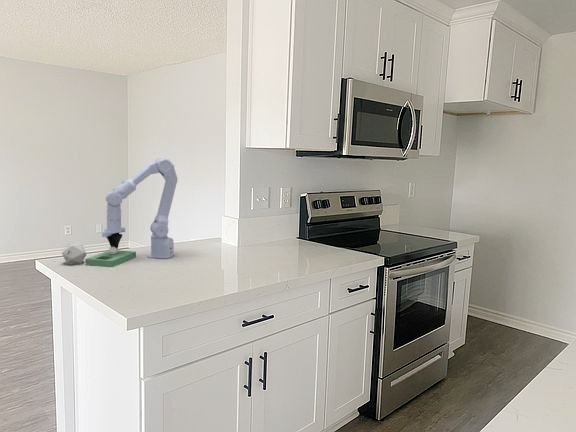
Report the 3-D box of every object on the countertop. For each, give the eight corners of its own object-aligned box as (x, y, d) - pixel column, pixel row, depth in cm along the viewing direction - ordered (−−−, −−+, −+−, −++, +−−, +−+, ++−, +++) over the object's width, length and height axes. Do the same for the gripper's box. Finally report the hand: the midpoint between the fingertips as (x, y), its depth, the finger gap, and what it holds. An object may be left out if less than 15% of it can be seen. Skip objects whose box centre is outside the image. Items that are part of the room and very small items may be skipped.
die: (59, 263, 190) (55, 248, 183) (76, 250, 196) (72, 234, 189) (76, 272, 188) (72, 257, 181) (91, 259, 194) (89, 243, 188)
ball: (116, 245, 195) (112, 251, 193) (119, 250, 197) (115, 256, 195) (109, 244, 196) (105, 250, 194) (113, 250, 198) (108, 256, 196)
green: (136, 257, 203) (136, 251, 203) (112, 267, 185) (112, 261, 184) (111, 255, 205) (111, 249, 205) (85, 264, 187) (85, 259, 186)
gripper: (115, 217, 203) (115, 246, 205) (95, 221, 189) (95, 253, 191) (129, 218, 202) (129, 248, 203) (110, 222, 187) (111, 254, 189)
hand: (114, 250), depth 197 cm, fingers closed, pressing on ball
